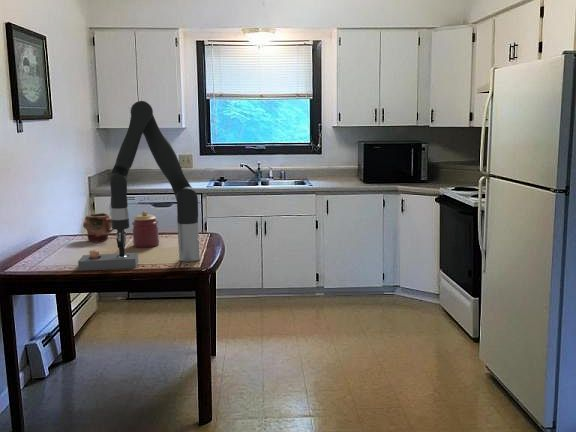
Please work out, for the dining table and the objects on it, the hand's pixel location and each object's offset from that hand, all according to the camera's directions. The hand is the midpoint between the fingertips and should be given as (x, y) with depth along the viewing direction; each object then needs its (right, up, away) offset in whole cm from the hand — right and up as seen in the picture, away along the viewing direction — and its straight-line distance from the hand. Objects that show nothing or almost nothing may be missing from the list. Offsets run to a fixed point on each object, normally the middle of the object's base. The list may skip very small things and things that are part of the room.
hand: (122, 256), depth 273 cm
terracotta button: (-12, 0, -2) cm, 12 cm away
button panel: (-6, -4, 0) cm, 7 cm away
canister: (+1, +3, +41) cm, 41 cm away
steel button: (0, -3, +1) cm, 3 cm away
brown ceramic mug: (-26, +5, +55) cm, 61 cm away
